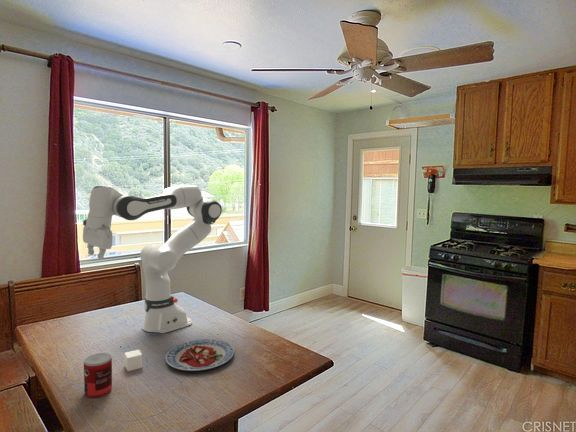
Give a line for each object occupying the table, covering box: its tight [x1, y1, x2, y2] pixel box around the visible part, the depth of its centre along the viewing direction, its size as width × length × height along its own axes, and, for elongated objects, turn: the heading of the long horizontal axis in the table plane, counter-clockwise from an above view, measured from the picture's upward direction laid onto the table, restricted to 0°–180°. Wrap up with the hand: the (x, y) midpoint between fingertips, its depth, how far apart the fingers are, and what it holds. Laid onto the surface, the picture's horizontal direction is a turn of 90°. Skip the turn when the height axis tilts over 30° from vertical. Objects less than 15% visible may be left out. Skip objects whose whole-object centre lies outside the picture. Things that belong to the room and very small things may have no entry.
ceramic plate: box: [165, 338, 235, 372], centre depth 135 cm, size 26×26×3 cm
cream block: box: [124, 349, 143, 372], centre depth 127 cm, size 5×5×5 cm
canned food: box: [83, 352, 113, 399], centre depth 111 cm, size 8×8×11 cm
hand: (95, 256), depth 143 cm, fingers open, 8 cm apart
